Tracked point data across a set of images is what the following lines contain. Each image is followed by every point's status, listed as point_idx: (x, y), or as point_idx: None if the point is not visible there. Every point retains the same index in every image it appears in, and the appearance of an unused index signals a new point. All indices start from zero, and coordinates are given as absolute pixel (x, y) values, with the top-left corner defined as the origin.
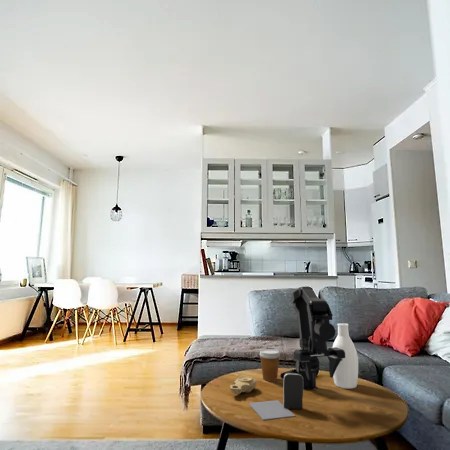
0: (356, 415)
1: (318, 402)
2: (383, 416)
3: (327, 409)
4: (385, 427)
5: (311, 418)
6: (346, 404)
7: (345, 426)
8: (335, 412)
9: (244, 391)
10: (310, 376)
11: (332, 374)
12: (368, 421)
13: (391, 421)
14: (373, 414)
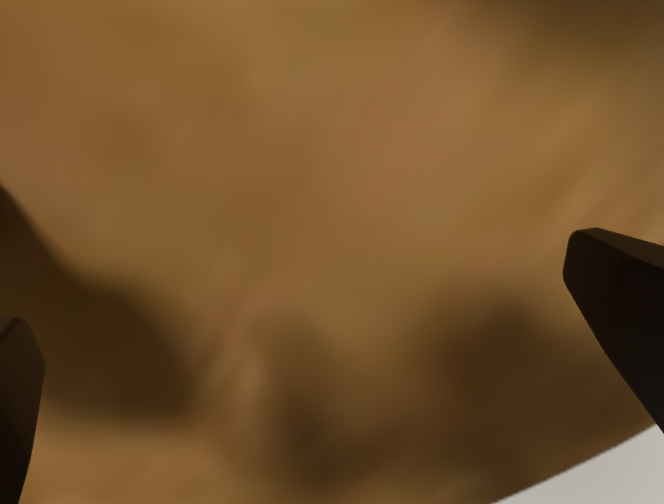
0: (450, 367)
1: (266, 60)
2: (611, 383)
3: (279, 254)
4: (495, 494)
5: (53, 404)
6: (534, 161)
7: (270, 494)
8: (320, 315)
9: None
10: (24, 448)
11: (605, 345)
12: (461, 440)
13: (591, 438)
14: (578, 356)
